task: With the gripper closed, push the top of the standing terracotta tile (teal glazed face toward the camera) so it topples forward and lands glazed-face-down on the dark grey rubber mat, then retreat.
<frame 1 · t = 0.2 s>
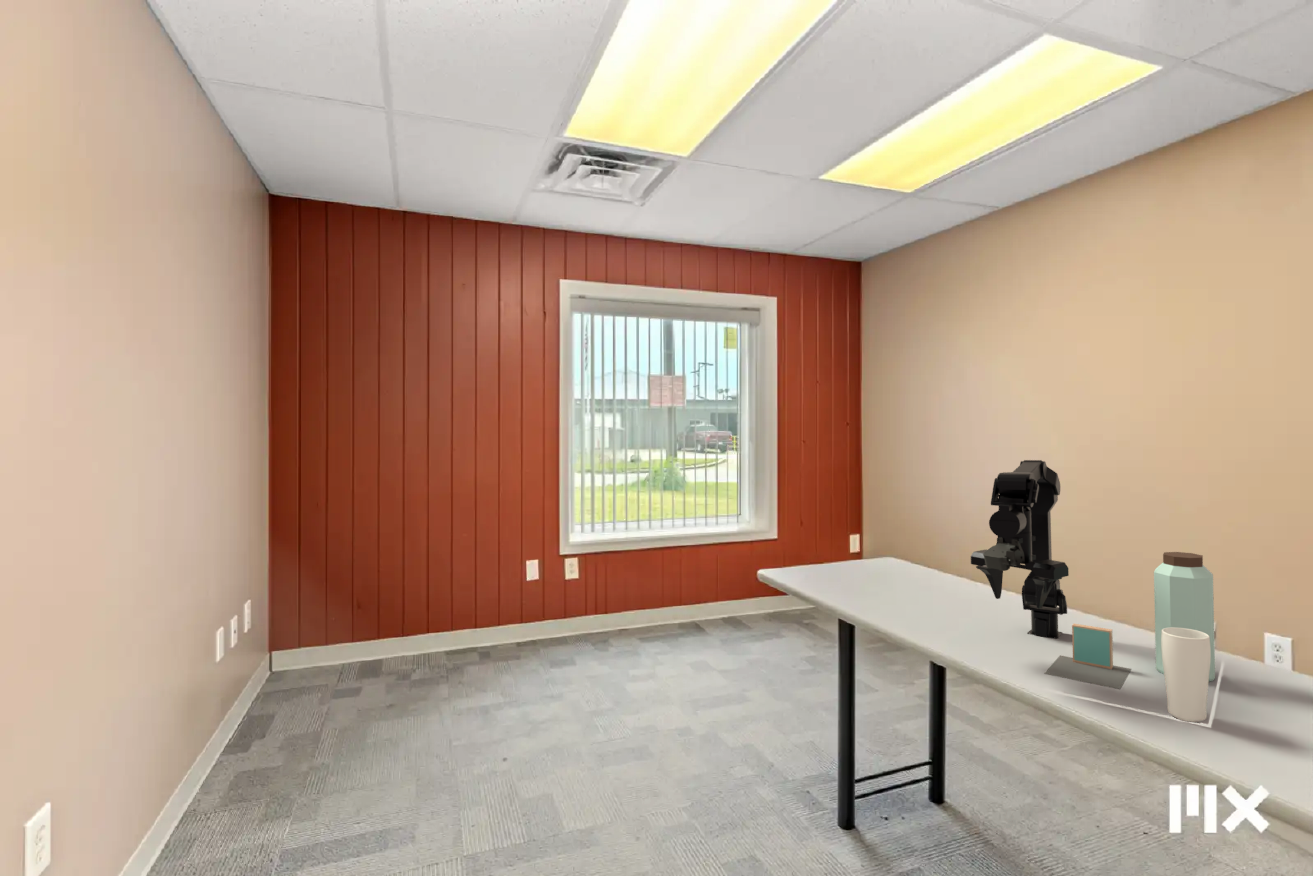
hand: (1018, 603, 140), 14 cm above the table, fingers open, 9 cm apart
mat: (1087, 674, 136), on the table
water bottle: (1185, 677, 133), on the table
tile: (1092, 664, 139), point 1 cm above the table, touching mat
drinking glass: (1186, 718, 115), on the table
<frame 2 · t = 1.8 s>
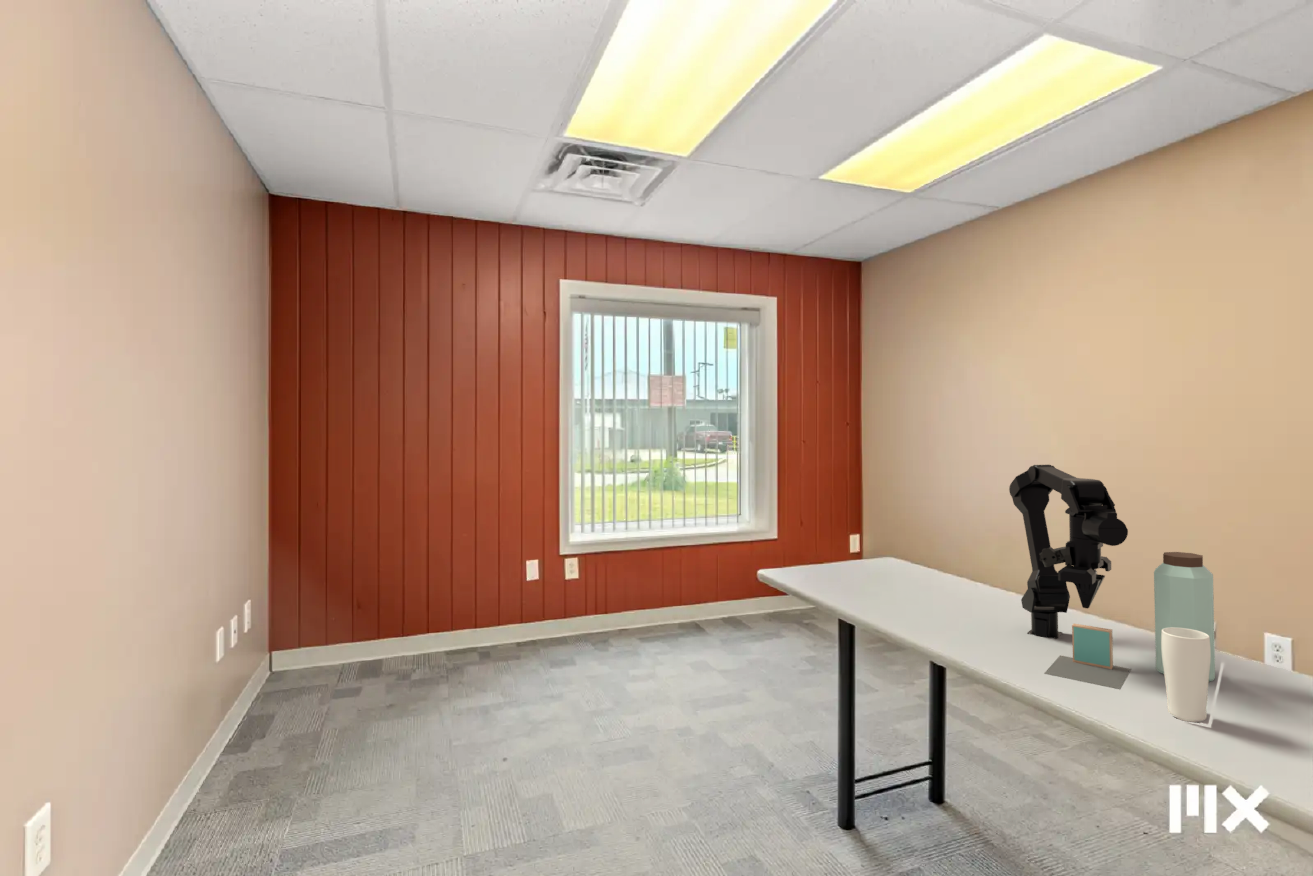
hand: (1085, 607, 142), 12 cm above the table, fingers closed
nothing on the table moved.
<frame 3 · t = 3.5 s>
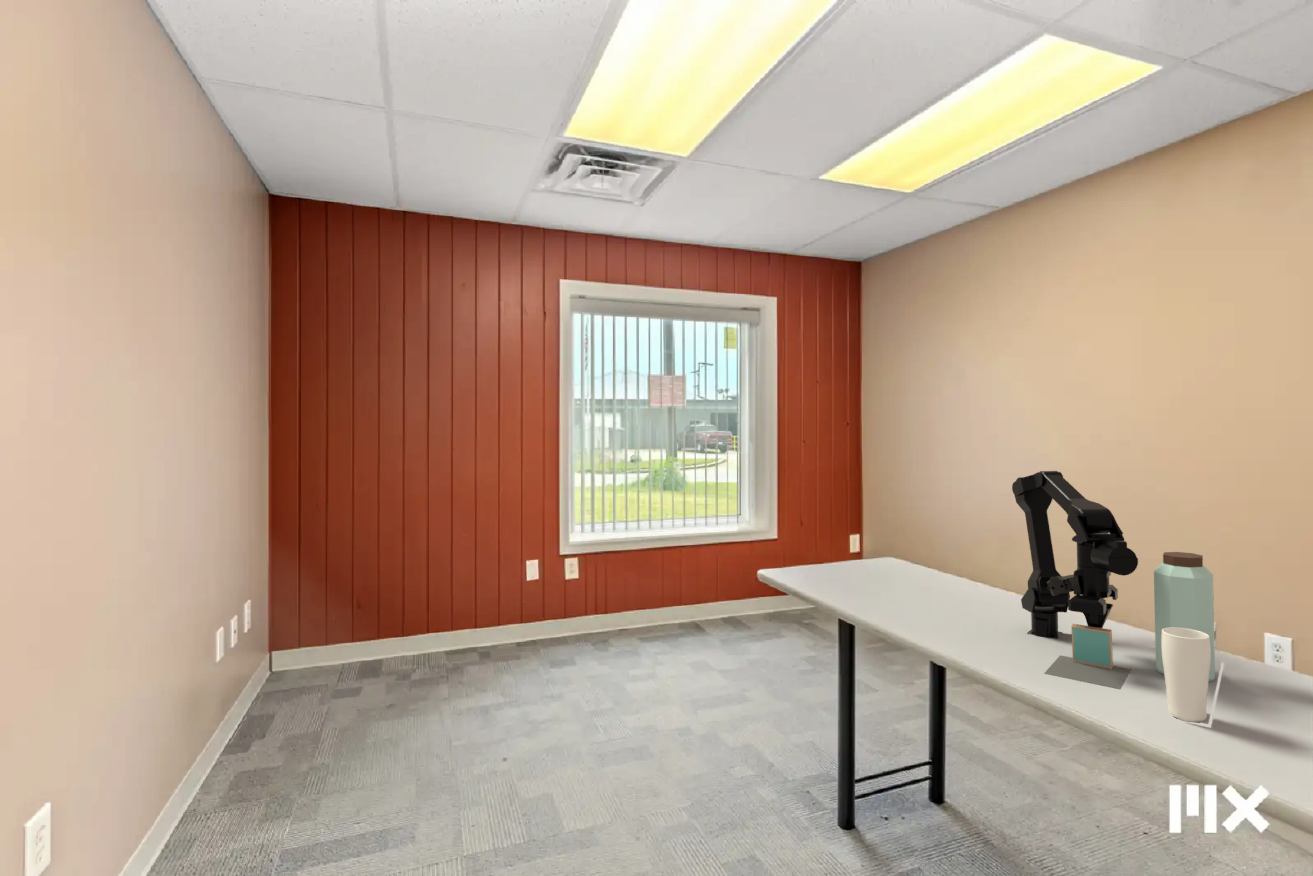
hand: (1094, 637, 140), 6 cm above the table, fingers closed
tile: (1092, 664, 139), point 1 cm above the table, touching gripper, mat
everything else where it was.
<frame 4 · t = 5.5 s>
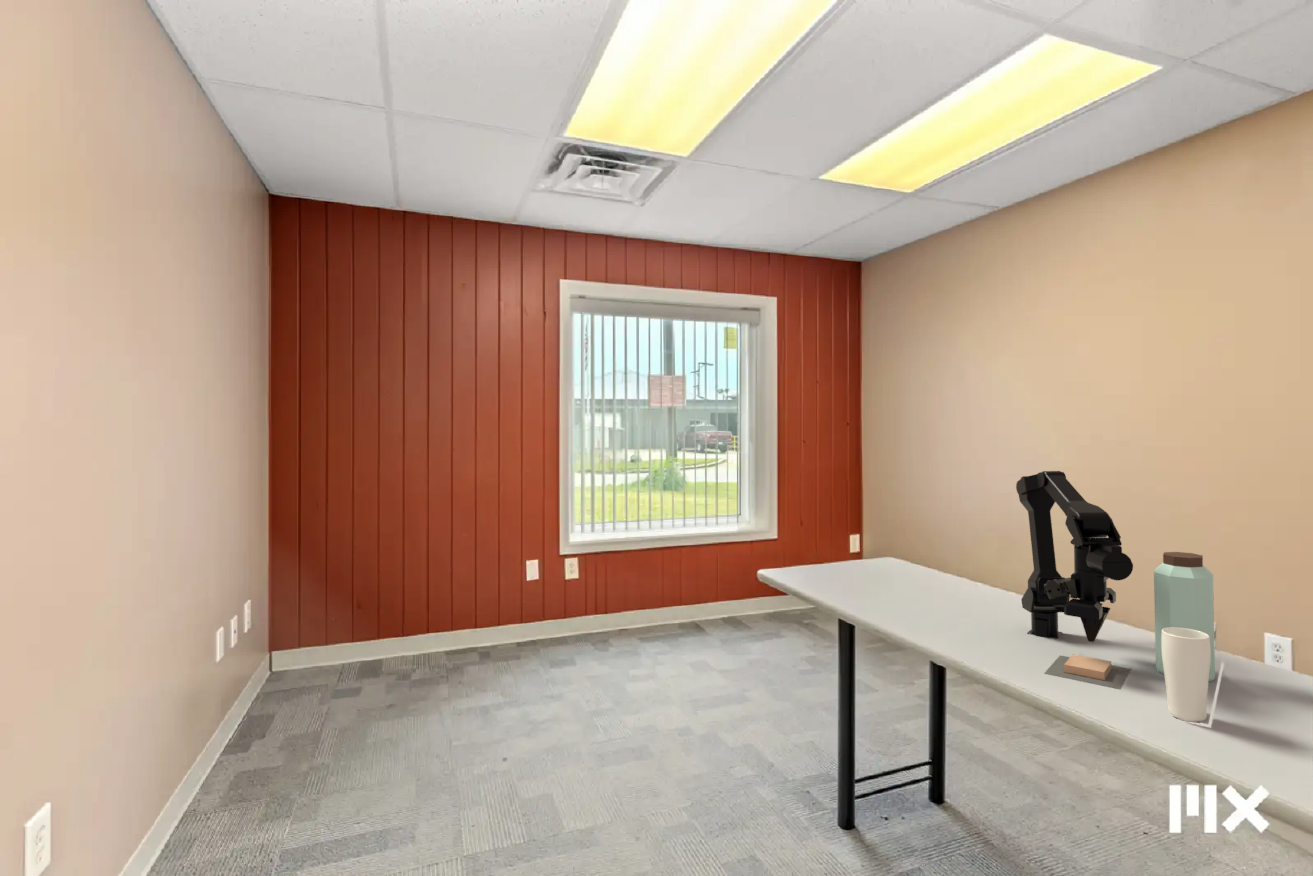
hand: (1091, 641, 139), 6 cm above the table, fingers closed
tile: (1091, 661, 139), point 1 cm above the table, tilted 90°, touching mat
everything else where it was.
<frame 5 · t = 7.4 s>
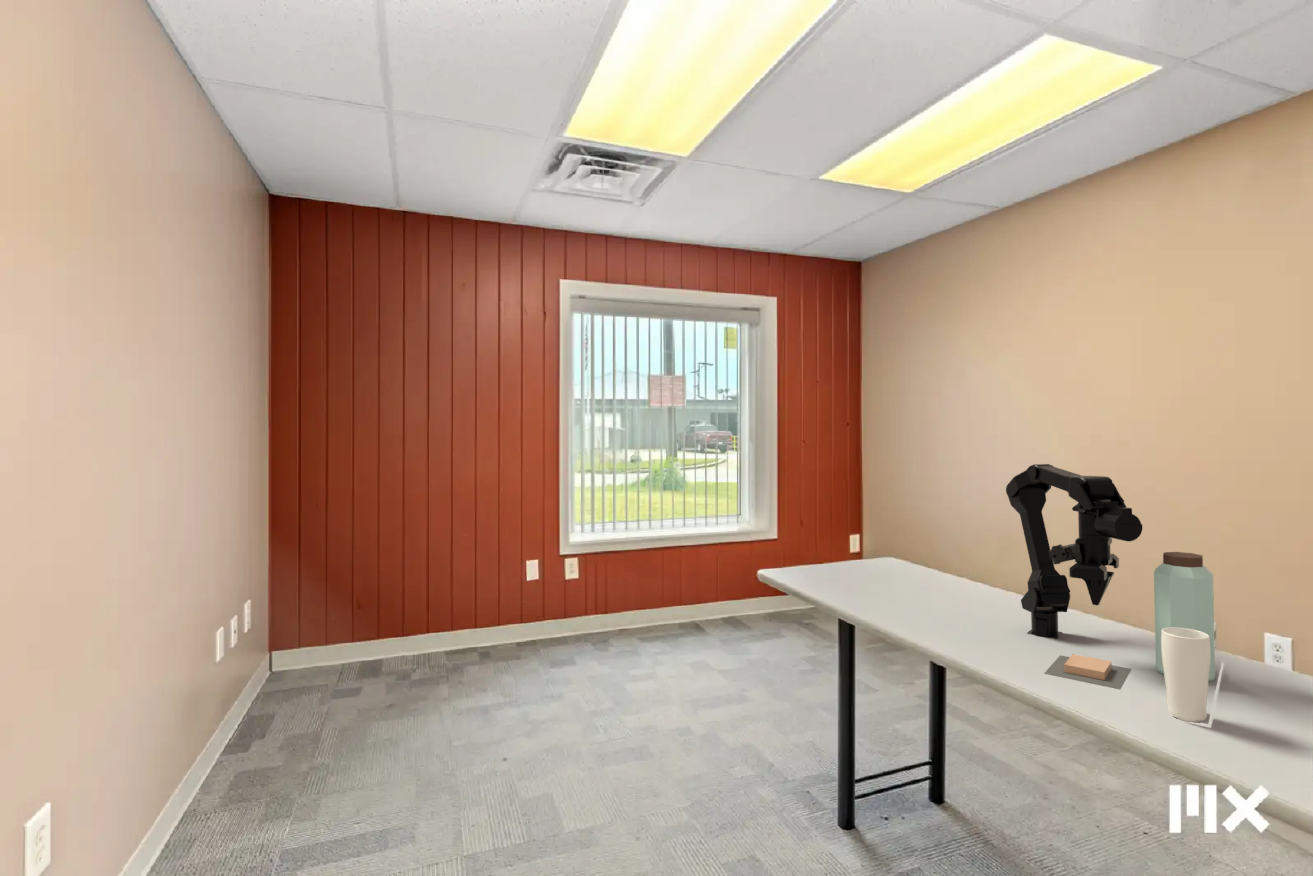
hand: (1095, 604, 142), 12 cm above the table, fingers closed
nothing on the table moved.
at the end: tile tilted 90°; tile inside the target area on the mat (4.6 cm from its centre), point 1.5 cm above the mat's base; tile moved 1.2 cm from its start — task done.
